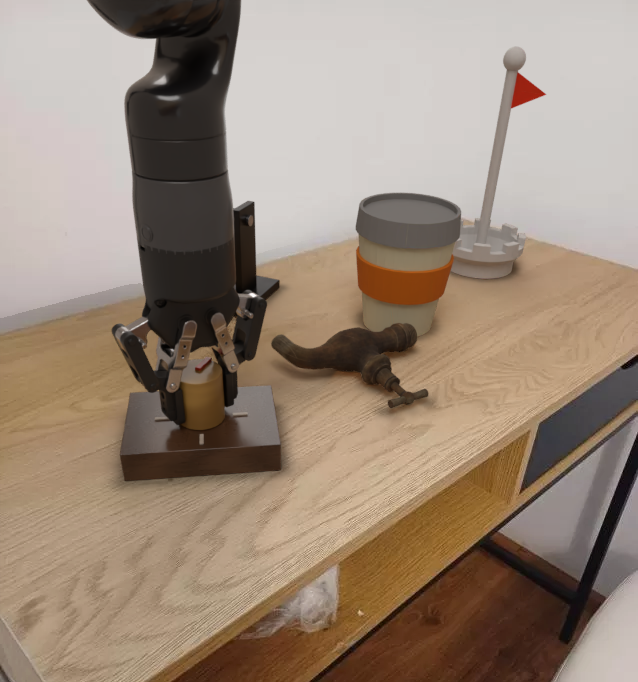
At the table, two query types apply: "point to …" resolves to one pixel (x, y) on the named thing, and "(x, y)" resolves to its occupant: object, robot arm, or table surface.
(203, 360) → the tap knob
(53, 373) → the table surface
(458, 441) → the table surface
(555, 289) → the table surface
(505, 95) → the flag stand
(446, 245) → the reusable coffee cup
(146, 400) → the panel
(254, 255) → the black upright frame
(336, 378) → the table surface
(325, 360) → the faucet
